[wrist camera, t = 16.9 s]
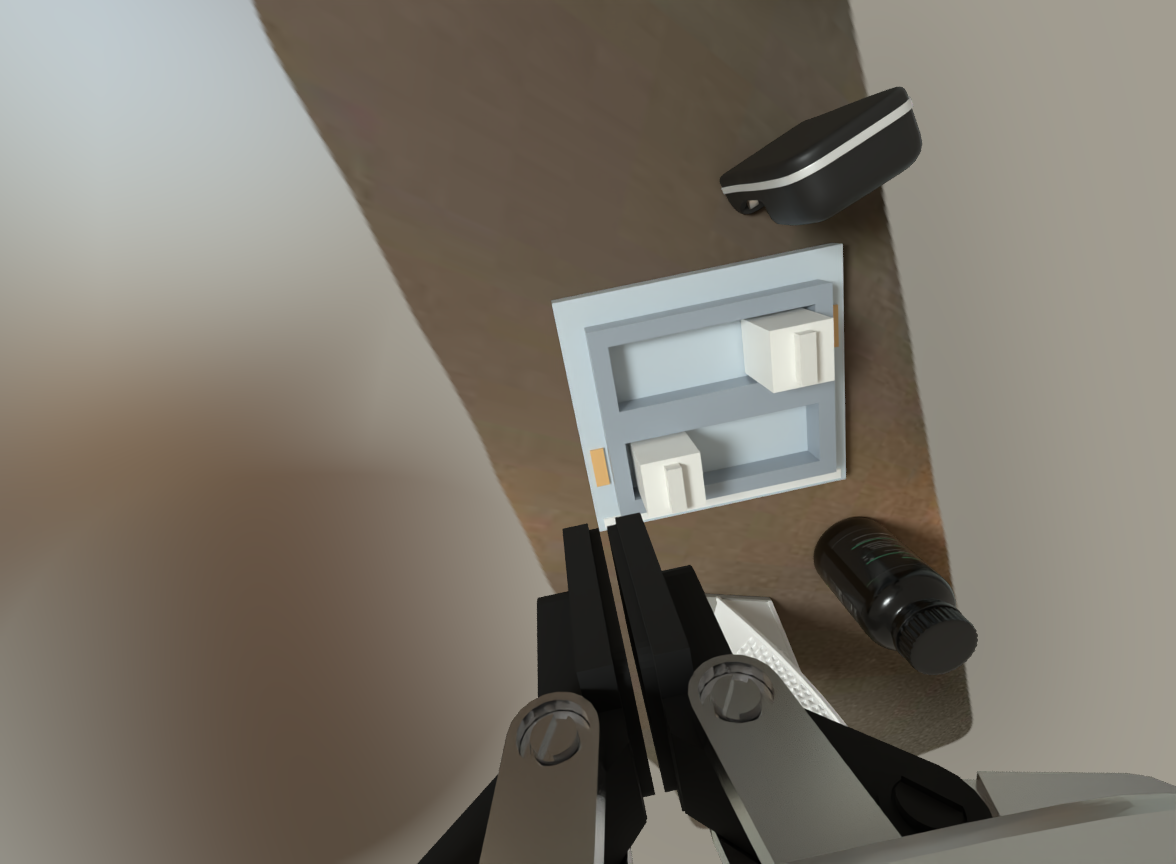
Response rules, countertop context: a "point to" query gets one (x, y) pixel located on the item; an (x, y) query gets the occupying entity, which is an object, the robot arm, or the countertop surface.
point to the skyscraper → (766, 645)
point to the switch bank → (703, 379)
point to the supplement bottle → (894, 595)
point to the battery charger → (828, 161)
